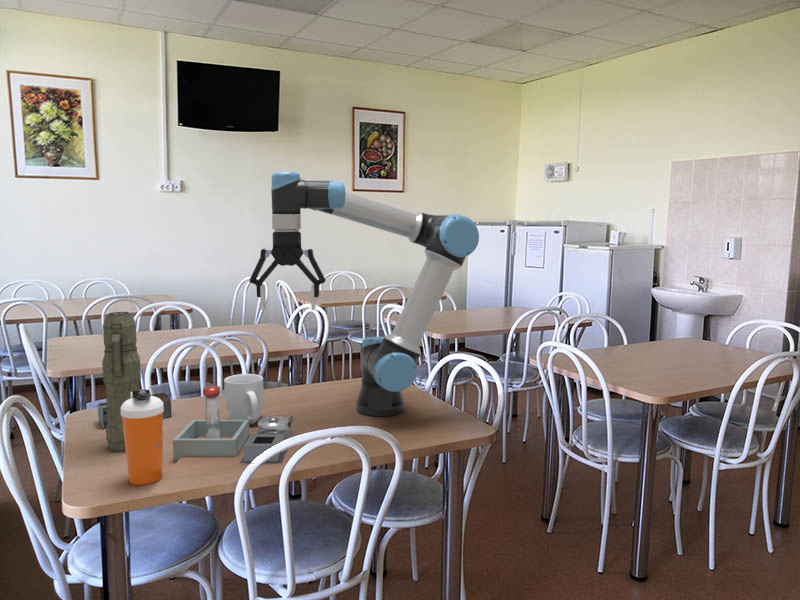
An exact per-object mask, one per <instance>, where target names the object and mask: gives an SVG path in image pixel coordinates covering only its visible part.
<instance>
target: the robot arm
mask: <svg viewBox="0 0 800 600" xmlns="http://www.w3.org/2000/svg"><path fill="white" fill-rule="evenodd" d="M270 192H271V218H272V219H271V222H272V223H271V224H272V227H271V229H272V230H274V231H273V232H272V250H271V249H266V248H262V249H261V250H260V257H259V259H258V262H256V266H255V267H254V270H253V272H252V274H251V276H250V278H249V280H248V281H249V283H250V284H253V285H255V287H256V297H257V298H260V310H261V311H264V310H266V308H267V306H266V305H267V303H266V302H267V301H266V300H267V299H266V284H264V282H265V281H266V280H267V278H268V277H269V276H270V275H271V274H272V272H273V271H274V270H275V269H276V268H277V266H282V267H283V266H289V267H290V266H295V265H296V266H297V267H298V268H299V269H300V270H301V271H302V272H303V274H304V275H305V276H306V277H307V278H308V280H309V281H310V282H311V283H312V285H311V286H310V290H311V291H310V296H311V297H310V300H311V302H310V303H311V307H310V308H311V311H315V310H316V298H319V296H320V285H322V284H324V283H326V277H325V275H324V274H323V272H322V270H321V268H320V266H319V264H318V262H317V260H316V258H315V255H314V250H313V249H312V248H309V249H303V248H302V233H301V231H300V230H301V228H302V224H301V223H302V221H301V220H302V219H301V218H302V217H301V211H302V210H301V209H305V210H307V209H310V210H311V211H312V210H313V211H315V212H316V211H319V212H321V213H325V214H329V215H332V216H335V217H339V218H341V219H345V220H350V221H352V222H355V223H358V224H362V225H366V226H368V227H372V228H375V229H379V230H382V231H385V232H388V233H391V234H395V235H399V236H401V237H405V238H408V241H409V242H410V243H413V244H416V245H419V246H422V247H424V248H425V249H424V254H425V256H426V259H425V262H424V264H423V265H422V268H421V270H420V272H419V274H418V276H417V279H416V281H415V283H414V285H413V288H412V290H411V292H410V293H409V296H408V298H407V299H406V300H407V301H406V302H405V304H404V306H403V309H402V311H401V313H400V315H399V318H398V320H397V322H396V324H395V326H394V328H393V330H392V332H391V333H390V334H387V335H384V336H372V337H371V336H370V337H364V338H363V339H362V342H361V347H360V348H361V386H360V389H359V392H358V396H357V399H356V403H355V404H356V407H355V409H356V411H357V412H358V413H359V414H362V415H366V416H370V417H386V416H387V417H388V416H394V415H398V414H401V413H402V412H404V411H405V400H404V397H403V394H402V391H404V390H406V389H408V388H410V387H411V385H412V384H414V382H415V381H416V379H417V375H418V368H417V363H418V361H419V360H420V359H419V358H420V357H421V354H422V352H421V349H420V344H421V342H422V340H423V337H424V336H425V334H426V331H427V329H428V327H429V324H430V323H431V321H432V318H433V316H434V315H435V312H436V309H437V307H438V306H439V303H440V301H441V299H442V297H443V295H444V292H445V290H446V288H447V286H448V283H449V282H450V280H451V277H452V275H453V273H454V271H456V270H458V269H461V268H462V266H463V264H464V262H465V259H466V258H467V257H468V256H470V255H471V254H472V253H473V252H474V251H475V250H476V249H477V247H478V246H479V245H478V244H479V241H480V240H479V239H480V233H479V230H478V227H477V225H476V223H475V222H474V221H473V220H472V219H471V218H469V217H468V216H465V215H461V214H455V213H454V214H451V215H450V214H449V215H447V214H446V215H445V214H444V215H441V214H439V215H436V214H435V215H434V214H430V213H429V214H428V213H425V212H422V211H418V212H417V213H413V212H410V211H407V210H404V209H401V208H397V207H394V206H391V205H389V204H388V205H387V204H385V203H382V202H378V201H374V200H372V199H368V198H365V197H362V196H358V195H356V194H354V193H350V192H346V187H345V183H344V182H342V181H339V180H337V181H336V180H304V179H302V178H301V175H300V173H299V172H295V171H276V172H274V173H272V175H271V189H270ZM270 255H271V256H272V258H273V259H274V260H273V261H272V263H271V264H270V265H269V266H268V268H267V269H266V270H265V271H264V272H263V274H261V276H260V277H259V278H258V276H259V274H260V272H261V271H262V269H263V267H264V264H265V262H266V259H267V258H270V257H269V256H270ZM303 255H304V256H305V257H306V258H308V260H309V262H310V264H311V267H312V268H313V270H314V272H315V274H316V276H317V277H316V276H315V275H314V274H313V273H312V272H311V271H310V269H309V268H308V267H307V266H306V265H305V264H304V262H303V261H302V260H301V258H302V257H303ZM257 278H258V279H257ZM317 278H318V279H317Z"/></svg>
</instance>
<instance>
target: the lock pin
mask: <svg viewBox="0 0 800 600" xmlns="http://www.w3.org/2000/svg"><path fill="white" fill-rule="evenodd" d="M202 395H203V397H204V406H205V407H204V410H205V411H204V412H205V420H206V437H205V439H221V436H220V420H221V417H220V416H221V415H220V395H221V386H218V385H208V386H204V387H202Z"/></svg>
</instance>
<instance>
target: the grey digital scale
mask: <svg viewBox="0 0 800 600" xmlns="http://www.w3.org/2000/svg"><path fill="white" fill-rule="evenodd" d="M293 423H294V415H290V418H287V417H286V416H285V417H284V416H279V415H277V416H275V415H273V416H266V417H264V416H263V415H260V416H259V418H258V420H257V421H256V428H257V433H254V434H253V433H251V434H249V436H248V437H247V439H246V441H245V442H244V444H243V456H242V458H241V460H240V462H239V464H252V463H251V462H252V461H253V460H254V459H255V458H256V457H257V456H259V455H260V454H262V453H263V452H264V451H266V450H267V449H269V448H271V447H272V446H274V445H276V444H278V443H280V442H281V441H283V440H285V439H288V438H290V437H293V438H294V436H295V435H296V430H289V429H290V428H291V427H292V424H293ZM288 449H289V448H288ZM288 449H287V450H285V451H283V452H280V453H278V454H276V455H274V456H273V457H271V458H270V459H269V460H267V461H266V462H265V463H264V464H282V463H283V461H284V459H285V457H286V455H287V452H288Z"/></svg>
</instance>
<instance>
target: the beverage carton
mask: <svg viewBox="0 0 800 600" xmlns="http://www.w3.org/2000/svg"><path fill="white" fill-rule="evenodd" d="M151 395H152V396H154V397H157V398H159V399H161V401H162V402H163V406H164V411H163V419H168V418H171V417H172V399H171V397H170V396H168V395H167V394H166V393H164V392H161V393H158V392H157V393H153V394H152V393H151ZM97 412H98V413H97V417H98V423H99V424H100V426H101V428H102V429H103V428H104V430H106V426H107V423H108V417H107V401H105V402H102V403H101V402H100V403H97Z"/></svg>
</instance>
